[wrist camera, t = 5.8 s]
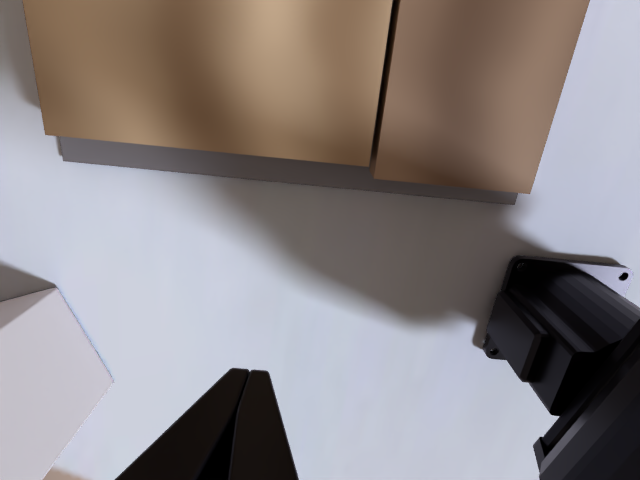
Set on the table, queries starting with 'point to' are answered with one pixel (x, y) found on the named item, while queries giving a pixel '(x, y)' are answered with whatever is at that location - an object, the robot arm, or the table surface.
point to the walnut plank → (472, 90)
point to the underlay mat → (262, 167)
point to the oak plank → (213, 73)
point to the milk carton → (43, 382)
